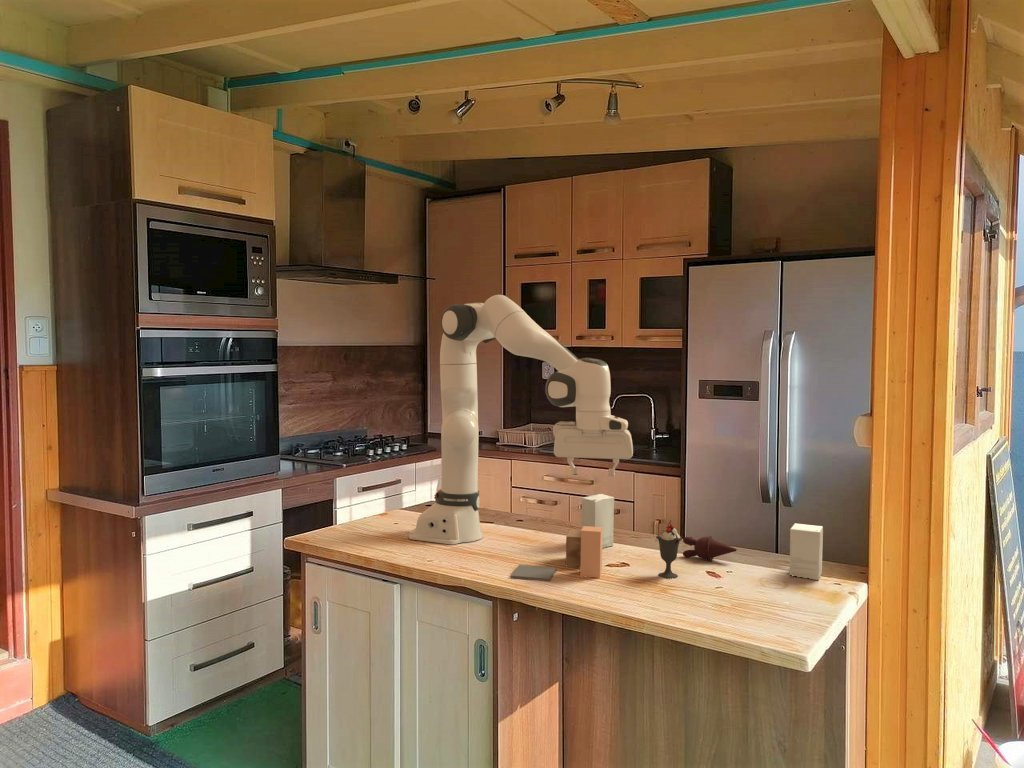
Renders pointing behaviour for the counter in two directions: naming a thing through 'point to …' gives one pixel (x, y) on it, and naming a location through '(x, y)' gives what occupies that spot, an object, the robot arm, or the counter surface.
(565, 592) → the counter surface
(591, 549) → the terracotta pillar
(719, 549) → the icecream
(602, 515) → the skincare box
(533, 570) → the grey mat
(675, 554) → the sundae
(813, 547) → the supplement box
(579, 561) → the lettered block
